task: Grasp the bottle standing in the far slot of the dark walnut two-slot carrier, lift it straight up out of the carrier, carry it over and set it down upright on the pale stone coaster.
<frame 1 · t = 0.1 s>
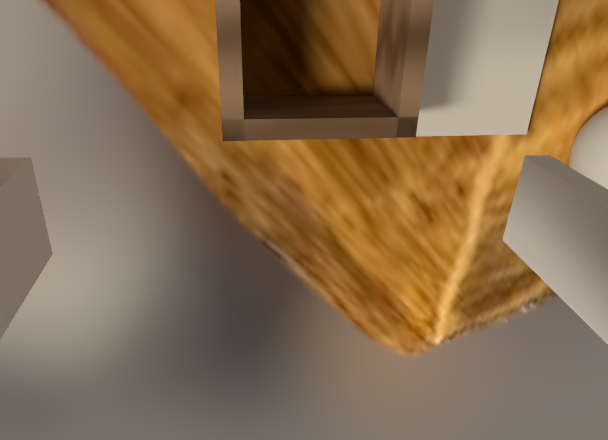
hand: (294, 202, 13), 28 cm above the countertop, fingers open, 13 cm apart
ornament: (597, 140, 46), on the countertop
coaster: (473, 64, 41), on the countertop
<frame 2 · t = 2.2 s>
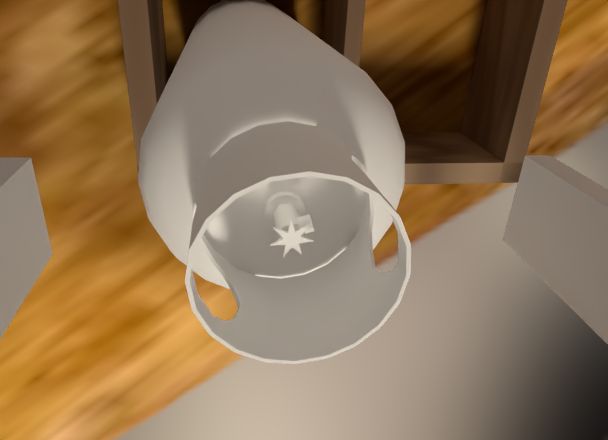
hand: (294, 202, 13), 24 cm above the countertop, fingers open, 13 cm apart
bottle: (245, 57, 35), resting in carrier
carrier: (328, 59, 36), on the countertop
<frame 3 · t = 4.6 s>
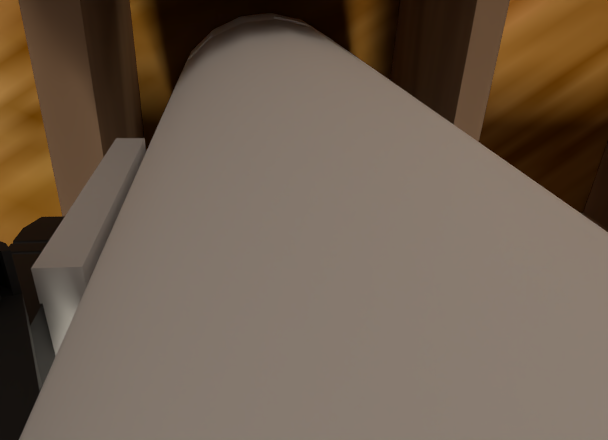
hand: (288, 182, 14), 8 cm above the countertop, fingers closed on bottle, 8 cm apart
bottle: (267, 109, 22), resting in carrier, touching gripper
carrier: (396, 112, 23), on the countertop
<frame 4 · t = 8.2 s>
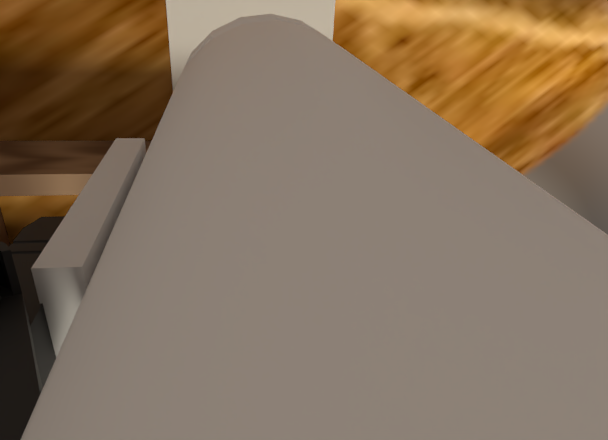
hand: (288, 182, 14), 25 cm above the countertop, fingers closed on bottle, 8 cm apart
bottle: (267, 110, 22), point 17 cm above the countertop, touching gripper
carrier: (147, 218, 42), on the countertop
coaster: (252, 51, 37), on the countertop
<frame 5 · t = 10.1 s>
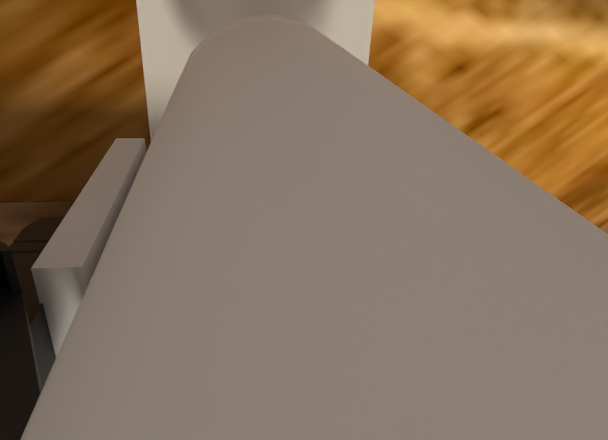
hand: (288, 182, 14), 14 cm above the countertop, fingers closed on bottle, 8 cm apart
bottle: (267, 110, 22), point 6 cm above the countertop, touching gripper
carrier: (121, 296, 32), on the countertop
coaster: (258, 83, 27), on the countertop
when the fingers open (10 cm above the countertop, at t = 11.9 s): bottle stays where it is, resting on coaster.
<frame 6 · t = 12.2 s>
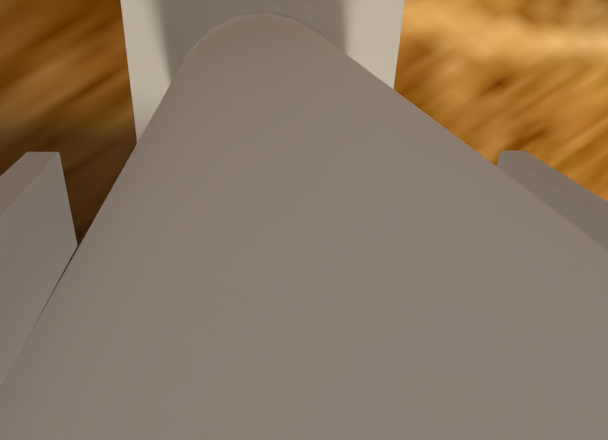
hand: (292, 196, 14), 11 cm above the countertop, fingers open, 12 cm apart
bottle: (264, 105, 23), resting on coaster
coaster: (265, 102, 23), on the countertop
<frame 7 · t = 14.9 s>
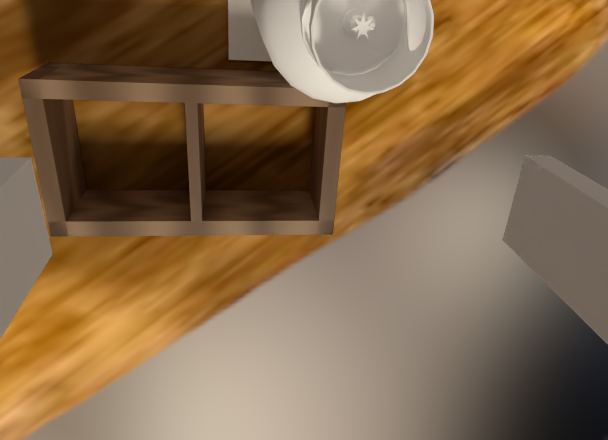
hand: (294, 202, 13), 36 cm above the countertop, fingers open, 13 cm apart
carrier: (199, 140, 49), on the countertop
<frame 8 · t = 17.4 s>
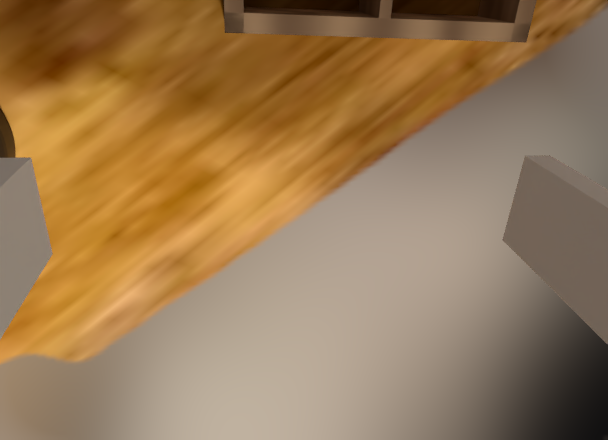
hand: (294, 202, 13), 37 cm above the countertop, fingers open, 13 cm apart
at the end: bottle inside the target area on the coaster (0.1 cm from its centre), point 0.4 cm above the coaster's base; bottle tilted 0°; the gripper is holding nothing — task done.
